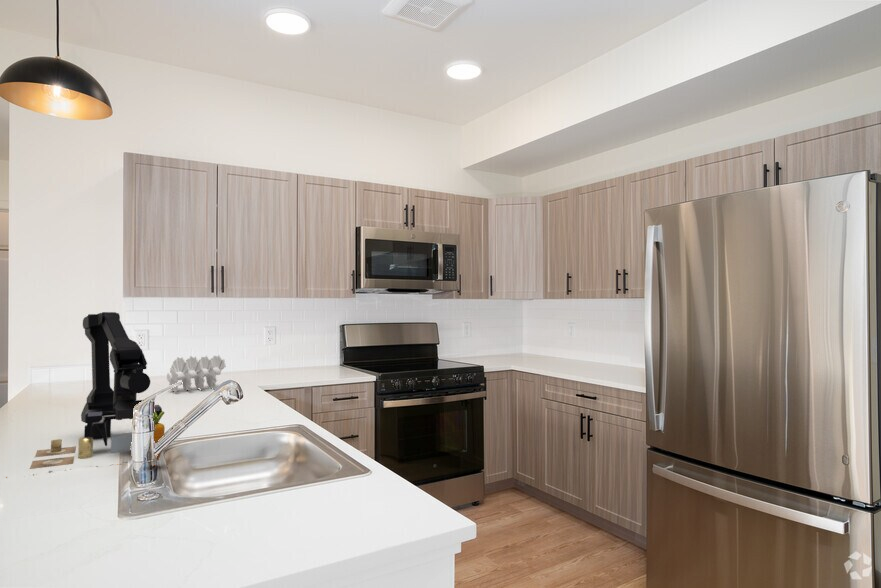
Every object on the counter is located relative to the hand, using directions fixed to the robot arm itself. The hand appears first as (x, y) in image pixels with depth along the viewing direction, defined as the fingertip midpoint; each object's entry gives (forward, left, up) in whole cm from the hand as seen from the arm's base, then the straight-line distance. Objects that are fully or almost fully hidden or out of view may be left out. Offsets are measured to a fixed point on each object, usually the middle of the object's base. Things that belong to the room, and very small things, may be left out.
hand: (123, 443), depth 151 cm
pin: (+9, +4, -2) cm, 10 cm away
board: (+16, -6, -2) cm, 17 cm away
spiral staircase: (-34, -112, -3) cm, 117 cm away
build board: (+16, +6, -2) cm, 17 cm away
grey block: (0, 0, -2) cm, 3 cm away
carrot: (-6, +20, -3) cm, 21 cm away
